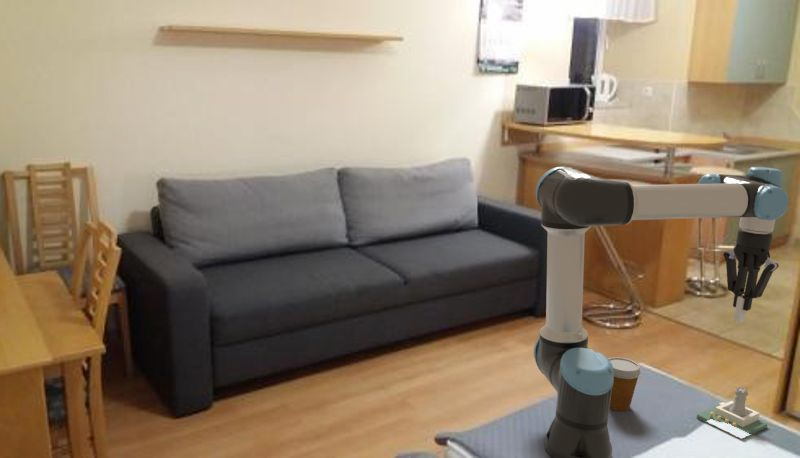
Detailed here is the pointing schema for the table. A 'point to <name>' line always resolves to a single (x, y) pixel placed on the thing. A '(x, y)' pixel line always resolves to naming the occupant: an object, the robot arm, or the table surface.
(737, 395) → the rook chess piece
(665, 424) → the table surface
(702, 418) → the board
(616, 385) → the disposable coffee cup
